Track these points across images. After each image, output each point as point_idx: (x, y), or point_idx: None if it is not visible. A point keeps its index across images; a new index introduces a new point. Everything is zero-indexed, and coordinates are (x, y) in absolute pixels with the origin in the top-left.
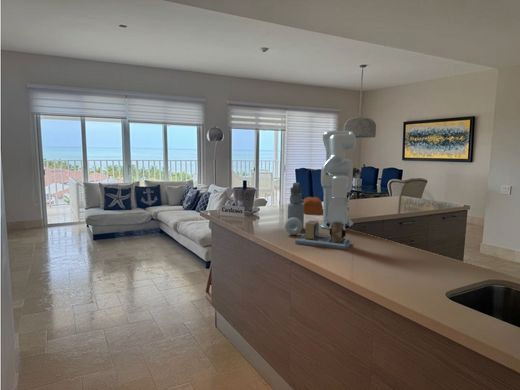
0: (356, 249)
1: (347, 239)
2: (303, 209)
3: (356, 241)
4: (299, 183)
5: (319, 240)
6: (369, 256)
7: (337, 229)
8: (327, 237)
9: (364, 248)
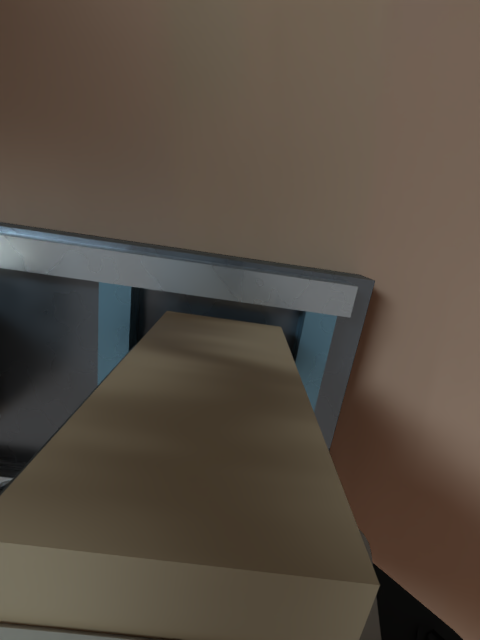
0: (390, 455)
1: (328, 332)
2: None
3: (438, 121)
4: None
5: (6, 381)
6: (462, 588)
7: None
8: (58, 273)
9: (472, 405)
